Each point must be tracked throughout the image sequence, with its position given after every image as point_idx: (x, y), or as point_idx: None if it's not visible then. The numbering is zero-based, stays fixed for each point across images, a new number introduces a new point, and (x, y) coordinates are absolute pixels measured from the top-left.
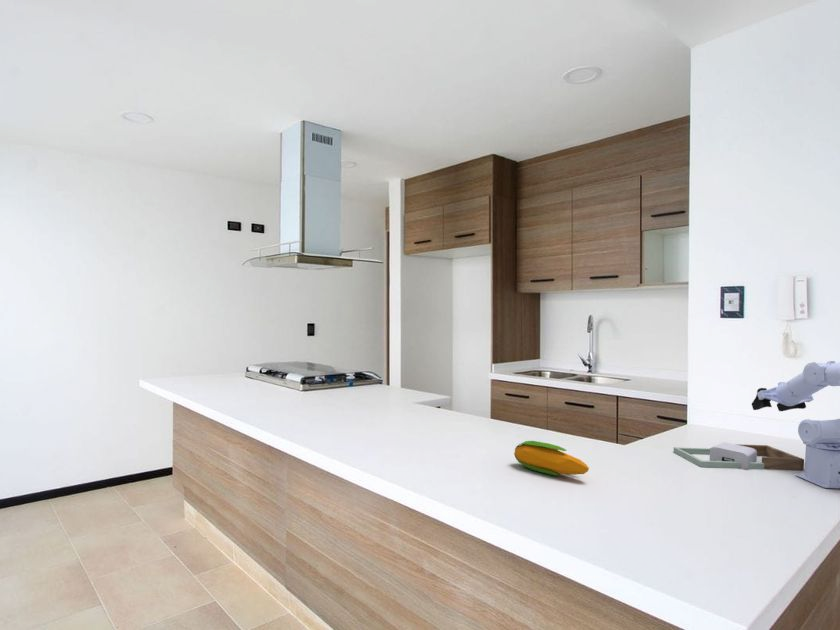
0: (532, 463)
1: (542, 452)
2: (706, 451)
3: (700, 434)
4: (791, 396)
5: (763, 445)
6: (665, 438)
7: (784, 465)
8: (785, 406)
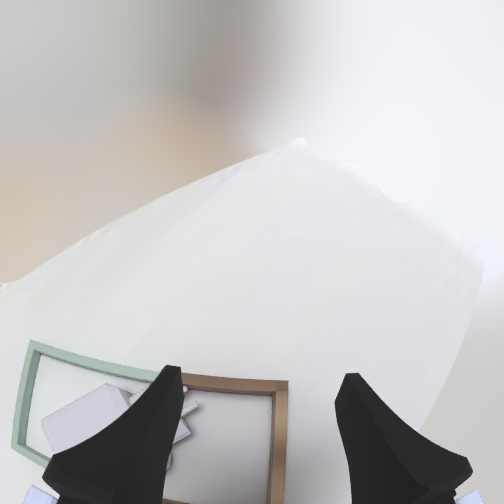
0: None
1: None
2: (93, 368)
3: (241, 200)
4: None
5: (271, 383)
6: (115, 235)
7: None
8: (353, 443)
